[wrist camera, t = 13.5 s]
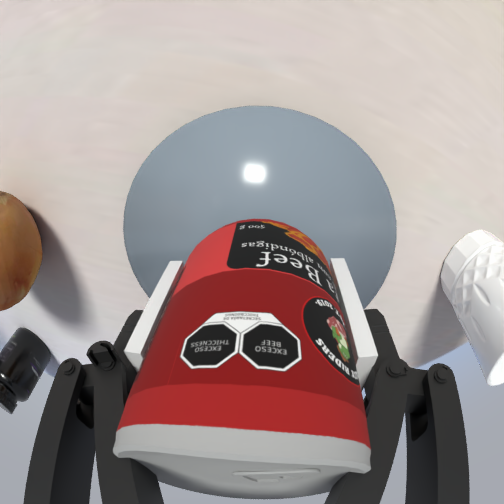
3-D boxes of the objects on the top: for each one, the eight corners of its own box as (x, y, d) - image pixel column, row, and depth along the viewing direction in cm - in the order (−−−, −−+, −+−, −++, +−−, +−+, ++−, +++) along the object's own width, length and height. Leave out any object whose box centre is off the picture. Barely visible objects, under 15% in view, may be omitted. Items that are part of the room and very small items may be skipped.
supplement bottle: (59, 358, 30) (25, 423, 19) (40, 359, 31) (9, 415, 21) (28, 323, 26) (-15, 388, 16) (12, 327, 28) (-25, 383, 18)
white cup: (418, 276, 19) (473, 377, 10) (479, 203, 15) (564, 278, 7) (456, 311, 21) (499, 391, 12) (508, 253, 17) (566, 322, 8)
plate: (164, 334, 24) (160, 345, 23) (109, 127, 15) (98, 130, 13) (364, 333, 22) (368, 344, 21) (401, 113, 13) (411, 114, 12)
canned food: (352, 282, 15) (403, 472, 6) (249, 342, 18) (233, 501, 9) (267, 180, 13) (253, 427, 3) (161, 270, 16) (78, 445, 6)
